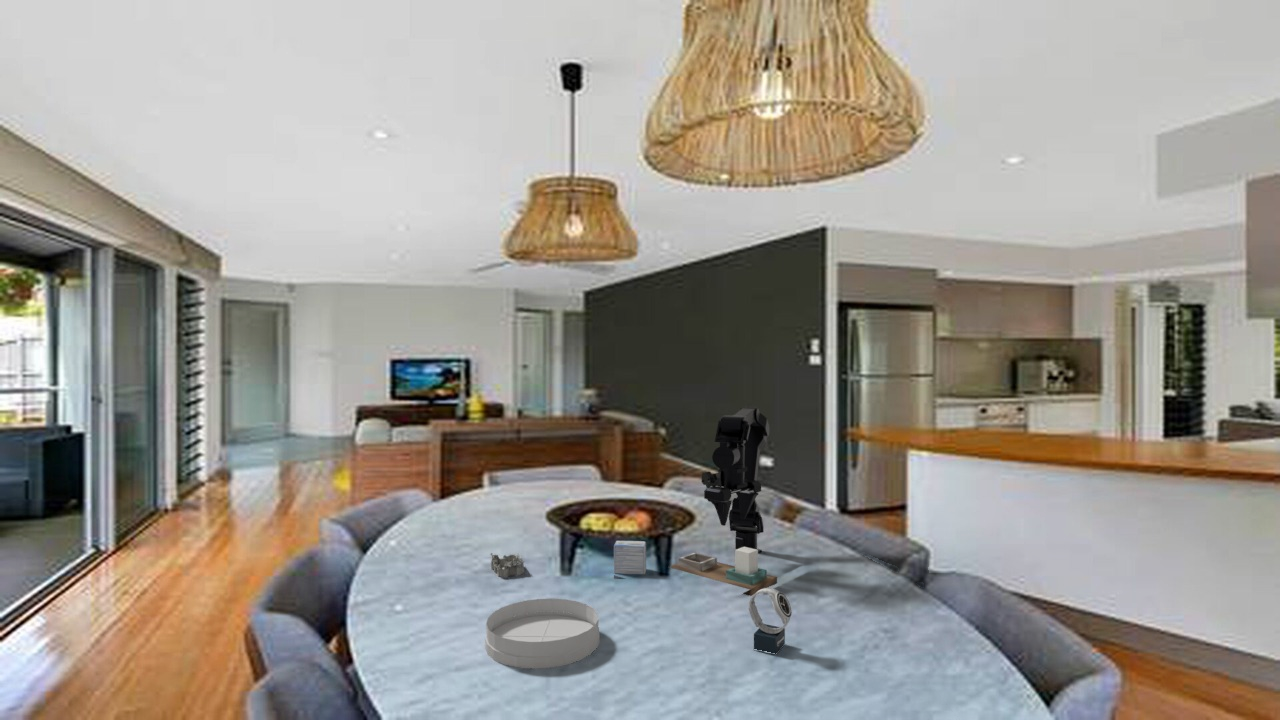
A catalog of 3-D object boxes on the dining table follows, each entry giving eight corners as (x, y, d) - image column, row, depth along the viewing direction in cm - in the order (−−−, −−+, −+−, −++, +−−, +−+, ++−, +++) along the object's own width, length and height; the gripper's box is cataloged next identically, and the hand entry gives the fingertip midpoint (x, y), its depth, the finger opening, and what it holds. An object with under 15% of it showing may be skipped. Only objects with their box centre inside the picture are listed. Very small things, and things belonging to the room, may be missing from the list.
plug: (744, 574, 168) (744, 546, 168) (757, 578, 165) (757, 549, 165) (735, 578, 165) (735, 550, 165) (748, 582, 162) (748, 553, 162)
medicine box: (646, 574, 172) (646, 541, 172) (644, 580, 168) (644, 545, 168) (615, 573, 173) (615, 540, 173) (613, 579, 169) (613, 545, 169)
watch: (785, 657, 125) (786, 598, 125) (745, 648, 129) (745, 590, 129) (794, 646, 130) (794, 589, 130) (755, 637, 134) (755, 582, 134)
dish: (500, 621, 143) (500, 597, 143) (604, 622, 142) (604, 598, 142) (471, 669, 121) (471, 641, 121) (594, 671, 120) (594, 643, 120)
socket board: (696, 562, 183) (696, 549, 183) (777, 583, 166) (777, 568, 166) (668, 572, 174) (668, 559, 174) (750, 595, 157) (750, 580, 157)
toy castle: (489, 567, 179) (489, 552, 179) (517, 564, 182) (517, 549, 182) (496, 579, 169) (496, 563, 169) (526, 575, 172) (526, 559, 172)
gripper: (728, 456, 190) (728, 511, 190) (687, 464, 176) (687, 523, 177) (762, 460, 183) (762, 517, 183) (722, 469, 169) (722, 531, 169)
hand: (733, 522), depth 178 cm, fingers open, 9 cm apart
